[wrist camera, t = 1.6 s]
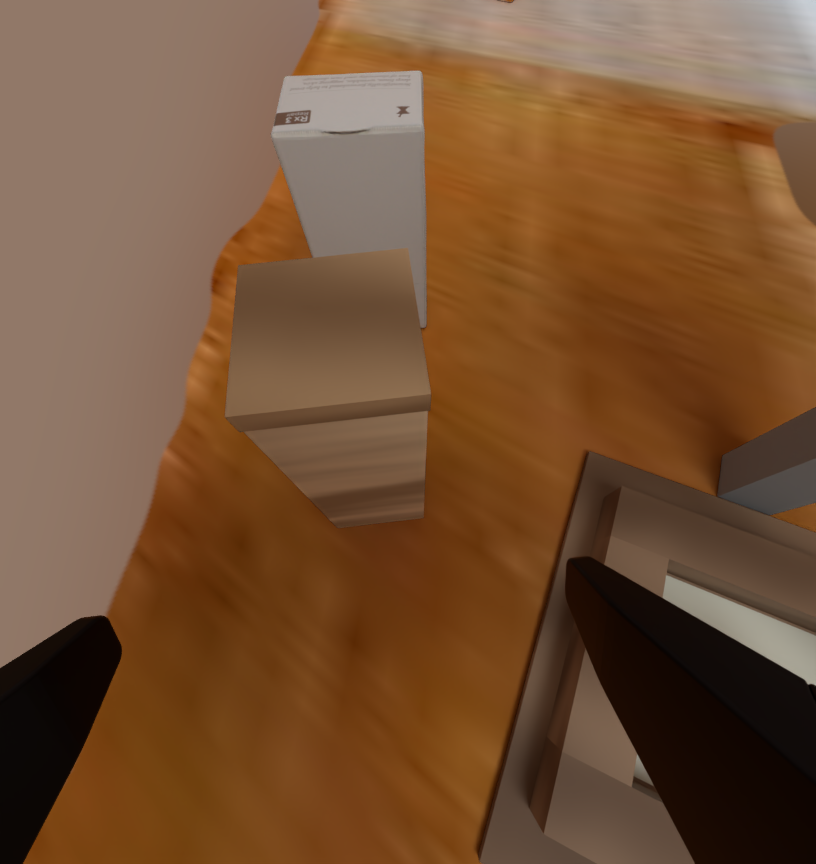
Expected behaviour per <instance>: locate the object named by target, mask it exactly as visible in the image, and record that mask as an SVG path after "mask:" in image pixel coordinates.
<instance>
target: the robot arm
mask: <svg viewBox="0 0 816 864" xmlns="http://www.w3.org/2000/svg"><path fill="white" fill-rule="evenodd" d="M565 597H566V601H567V604H568V606H569V609H570V611H571V614H572V616H573V619H574V621H575V624H576V626H577V628H578V631H579V633H580V636H581V638H582V641H583V643H584V646H585V648H586V651H587V653H588V655H589V658H590V660H591V663H592V665H593V668H594V670H595V672H596V675H597V677H598V679H599V682H600V684H601V686H602V688H603V690H604V692H605V694H606V696H607V698H608V700H609V701H610V703H611V705H612V707H613V709H614V711H615V713H616V715H617V717H618V719H619V720H620V722H621V724H622V726H623V728H624V730H625V732H626V734H627V736H628V738H629V739H630V741H631V743H632V745H633V747H634V749H635V751H636V753H637V755H638V757H639V758H640V760H641V762H642V764H643V766H644V768H645V770H646V772H647V774H648V776H649V777H650V779H651V781H652V783H653V785H654V787H655V789H656V791H657V793H658V795H659V796H660V798H661V800H662V802H663V804H664V806H665V808H666V810H667V812H668V814H669V815H670V817H671V819H672V821H673V823H674V825H675V827H676V829H677V831H678V833H679V834H680V836H681V838H682V840H683V842H684V844H685V846H686V848H687V850H688V852H689V853H690V855H691V857H692V859H693V861H694V863H695V864H816V686H815V685H814V684H807V682H806V681H805V680H804V679H803V678H801V677H799V676H798V675H796V674H794V673H792V672H791V671H789V670H787V669H785V668H784V667H782V666H780V665H779V664H777V663H775V662H773V661H772V660H770V659H768V658H766V657H765V656H763V655H761V654H759V653H758V652H756V651H754V650H752V649H751V648H749V647H747V646H745V645H744V644H742V643H740V642H738V641H737V640H735V639H733V638H731V637H730V636H728V635H726V634H725V633H723V632H721V631H719V630H718V629H716V628H714V627H712V626H711V625H709V624H707V623H705V622H704V621H702V620H700V619H698V618H697V617H695V616H693V615H691V614H690V613H688V612H686V611H684V610H683V609H681V608H679V607H678V606H676V605H674V604H672V603H671V602H669V601H667V600H665V599H664V598H662V597H660V596H658V595H657V594H655V593H653V592H651V591H650V590H648V589H646V588H644V587H643V586H641V585H639V584H637V583H636V582H634V581H632V580H631V579H629V578H627V577H625V576H624V575H622V574H620V573H618V572H617V571H615V570H613V569H611V568H610V567H608V566H606V565H604V564H603V563H601V562H599V561H597V560H596V559H594V558H592V557H590V556H580V557H572V558H569V559H568V560H567V563H566V577H565ZM121 655H122V647H121V644H120V642H119V640H118V638H117V635H116V633H115V631H114V629H113V627H112V625H111V623H110V621H109V619H108V618H106V617H105V616H91V617H84V618H80V619H78V620H76V621H74V622H73V623H71V624H70V625H68V626H66V627H65V628H63V629H62V630H60V631H59V632H57V633H55V634H54V635H52V636H51V637H49V638H47V639H46V640H44V641H43V642H41V643H39V644H38V645H36V646H35V647H33V648H32V649H30V650H28V651H27V652H25V653H24V654H22V655H21V656H19V657H17V658H16V659H14V660H12V661H11V662H9V663H8V664H6V665H5V666H3V667H1V668H0V864H23V862H24V860H25V859H26V857H27V855H28V853H29V851H30V849H31V847H32V845H33V843H34V841H35V839H36V837H37V836H38V834H39V832H40V830H41V828H42V826H43V824H44V822H45V820H46V818H47V816H48V814H49V812H50V811H51V809H52V807H53V805H54V803H55V801H56V799H57V797H58V795H59V793H60V791H61V789H62V788H63V786H64V784H65V782H66V780H67V778H68V776H69V774H70V772H71V770H72V768H73V766H74V764H75V762H76V760H77V758H78V756H79V754H80V752H81V750H82V748H83V746H84V744H85V742H86V739H87V737H88V735H89V733H90V730H91V728H92V726H93V723H94V721H95V718H96V716H97V714H98V711H99V709H100V707H101V704H102V702H103V700H104V697H105V695H106V693H107V690H108V688H109V685H110V683H111V681H112V678H113V676H114V674H115V671H116V669H117V667H118V664H119V662H120V659H121Z"/></svg>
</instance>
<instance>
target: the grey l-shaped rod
mask: <svg viewBox="0 0 816 864" xmlns="http://www.w3.org/2000/svg"><path fill="white" fill-rule="evenodd" d="M717 497H720V498H722V499H725V500H728V501H731V502H734V503H736V504H739V505H742V506H745V507H747V508H750V509H753V510H756V511H758V512H761V513H764V514H767V515H773V514H776V513H780V512H784V511H787V510H791V509H794V508H798V507H802V506H805V505H809V504H812V503H816V407H815V408H813V409H811V410H809V411H807V412H805V413H803V414H801V415H799V416H798V417H796V418H794V419H792V420H790V421H788V422H786V423H784V424H782V425H780V426H778V427H776V428H774V429H772V430H771V431H769V432H767V433H765V434H763V435H761V436H759V437H757V438H755V439H753V440H751V441H749V442H747V443H746V444H744V445H742V446H740V447H738V448H736V449H734V450H732V451H730V452H728V453H726V454H724V455H722V463H721V471H720V479H719V487H718V495H717Z"/></svg>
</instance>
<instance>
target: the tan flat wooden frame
mask: <svg viewBox="0 0 816 864" xmlns="http://www.w3.org/2000/svg"><path fill="white" fill-rule="evenodd" d="M580 556H590V557H592V558H594V559H596V560H597V561H599V562H601V563H603V564H604V565H606V566H608V567H610V568H611V569H613V570H615V571H617V572H618V573H620V574H622V575H624V576H625V577H627V578H629V579H631V580H632V581H634V582H636V583H637V584H639V585H641V586H643V587H644V588H646V589H648V590H650V591H651V592H653V593H655V594H657V595H658V596H660V597H662V598H664V599H665V600H667V601H669V602H671V603H672V604H674V605H676V606H678V607H679V608H681V609H683V610H684V611H686V612H688V613H690V614H691V615H693V616H695V617H697V618H698V619H700V620H702V621H704V622H705V623H707V624H709V625H711V626H712V627H714V628H716V629H718V630H719V631H721V632H723V633H725V634H726V635H728V636H730V637H731V638H733V639H735V640H737V641H738V642H740V643H742V644H744V645H745V646H747V647H749V648H751V649H752V650H754V651H756V652H758V653H759V654H761V655H763V656H765V657H766V658H768V659H770V660H772V661H773V662H775V663H777V664H779V665H780V666H782V667H784V668H785V669H787V670H789V671H791V672H792V673H794V674H796V675H798V676H799V677H801V678H803V679H804V680H805V681H806V682H807V684H814V685H815V686H816V533H815V532H812V531H809V530H807V529H804V528H801V527H798V526H796V525H793V524H790V523H787V522H784V521H782V520H779V519H776V518H773V517H771V516H768V515H765V514H762V513H760V512H757V511H754V510H751V509H749V508H746V507H743V506H740V505H737V504H735V503H732V502H729V501H726V500H724V499H721V498H718V497H715V496H713V495H710V494H707V493H704V492H701V491H699V490H696V489H693V488H690V487H688V486H685V485H682V484H679V483H677V482H674V481H671V480H668V479H666V478H663V477H660V476H657V475H654V474H652V473H649V472H646V471H643V470H641V469H638V468H635V467H632V466H630V465H627V464H624V463H621V462H619V461H616V460H613V459H610V458H607V457H605V456H602V455H599V454H596V453H594V452H591V451H589V452H588V453H587V455H586V459H585V463H584V467H583V470H582V474H581V478H580V481H579V485H578V489H577V492H576V496H575V500H574V503H573V507H572V511H571V515H570V518H569V522H568V526H567V529H566V533H565V537H564V540H563V544H562V548H561V551H560V555H559V559H558V563H557V566H556V570H555V574H554V577H553V581H552V585H551V588H550V592H549V596H548V600H547V603H546V607H545V611H544V614H543V618H542V622H541V625H540V629H539V633H538V636H537V640H536V644H535V648H534V651H533V655H532V659H531V662H530V666H529V670H528V673H527V677H526V681H525V684H524V688H523V692H522V696H521V699H520V703H519V707H518V710H517V714H516V718H515V721H514V725H513V729H512V732H511V736H510V740H509V744H508V747H507V751H506V755H505V758H504V762H503V766H502V769H501V773H500V777H499V780H498V784H497V788H496V792H495V795H494V799H493V803H492V806H491V810H490V814H489V817H488V821H487V825H486V828H485V832H484V836H483V840H482V843H481V847H480V851H479V854H478V857H479V862H481V863H483V864H695V863H694V861H693V859H692V857H691V855H690V853H689V852H688V850H687V848H686V846H685V844H684V842H683V840H682V838H681V836H680V834H679V833H678V831H677V829H676V827H675V825H674V823H673V821H672V819H671V817H670V815H669V814H668V812H667V810H666V808H665V806H664V804H663V802H662V800H661V798H660V796H659V795H658V793H657V791H656V789H655V787H654V785H653V783H652V781H651V779H650V777H649V776H648V774H647V772H646V770H645V768H644V766H643V764H642V762H641V760H640V758H639V757H638V755H637V753H636V751H635V749H634V747H633V745H632V743H631V741H630V739H629V738H628V736H627V734H626V732H625V730H624V728H623V726H622V724H621V722H620V720H619V719H618V717H617V715H616V713H615V711H614V709H613V707H612V705H611V703H610V701H609V700H608V698H607V696H606V694H605V692H604V690H603V688H602V686H601V684H600V682H599V679H598V677H597V675H596V672H595V670H594V668H593V665H592V663H591V660H590V658H589V655H588V653H587V651H586V648H585V646H584V643H583V641H582V638H581V636H580V633H579V631H578V628H577V626H576V624H575V621H574V619H573V616H572V614H571V611H570V609H569V606H568V604H567V601H566V597H565V577H566V563H567V560H568V559H569V558H572V557H580Z"/></svg>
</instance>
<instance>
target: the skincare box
mask: <svg viewBox="0 0 816 864" xmlns="http://www.w3.org/2000/svg"><path fill="white" fill-rule="evenodd" d="M424 132H425V131H424V118H423V75H422V73H421V71H403V72H377V73H357V74H336V75H312V76H286V77H284V80H283V86H282V90H281V94H280V99H279V103H278V107H277V112H276V116H275V121H274V125H273V129H272V133H271V138H272V142H273V144H274V147H275V150H276V153H277V155H278V158H279V161H280V164H281V167H282V170H283V172H284V175H285V178H286V181H287V184H288V187H289V190H290V193H291V195H292V198H293V201H294V204H295V207H296V210H297V213H298V216H299V219H300V222H301V225H302V228H303V231H304V234H305V237H306V240H307V243H308V246H309V249H310V252H311V255H312V258H315V257H324V256H334V255H344V254H353V253H363V252H373V251H382V250H392V249H401V248H408V251H409V257H410V264H411V270H412V276H413V283H414V289H415V295H416V302H417V308H418V314H419V321H420V327H421V328H425V327H426V325H427V296H426V195H425V164H424Z"/></svg>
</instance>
